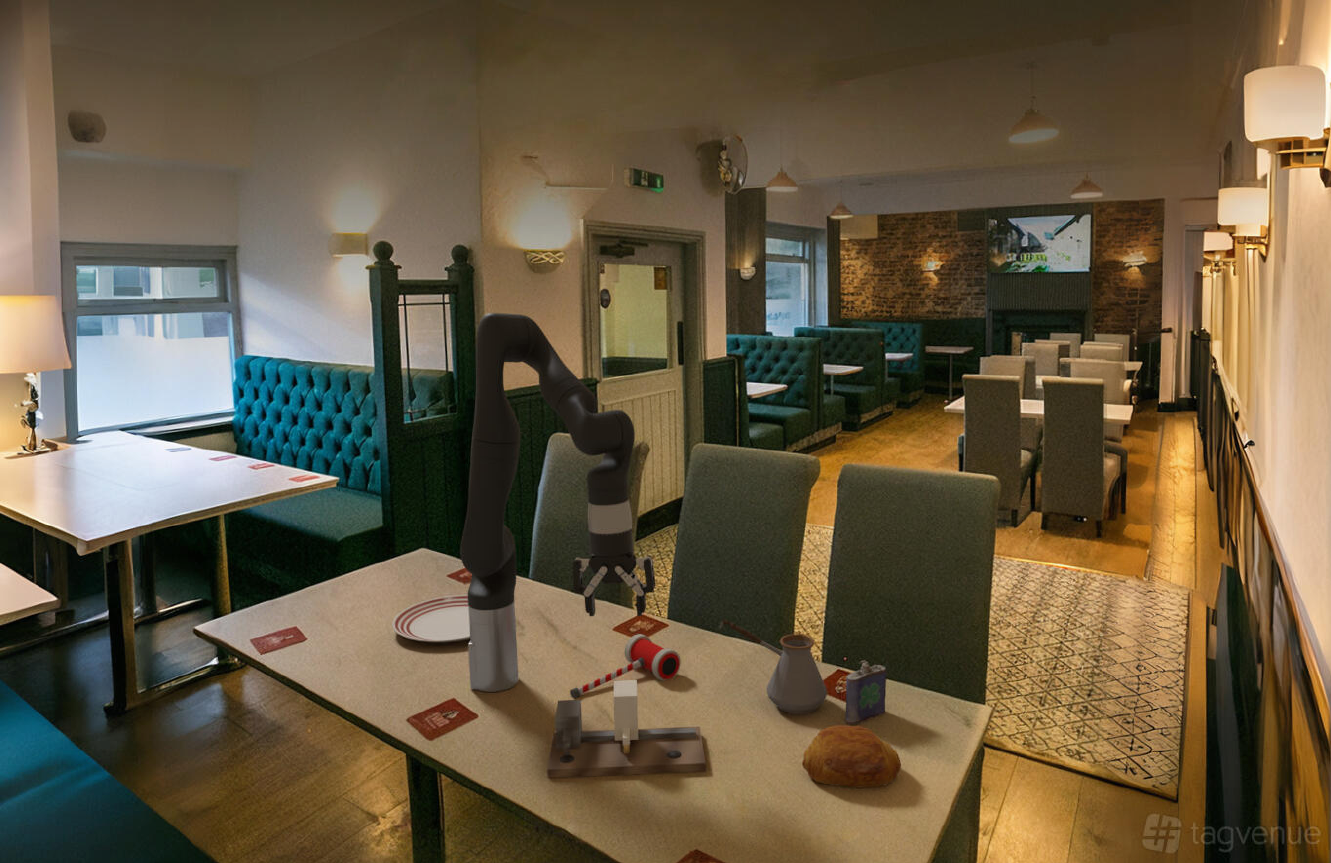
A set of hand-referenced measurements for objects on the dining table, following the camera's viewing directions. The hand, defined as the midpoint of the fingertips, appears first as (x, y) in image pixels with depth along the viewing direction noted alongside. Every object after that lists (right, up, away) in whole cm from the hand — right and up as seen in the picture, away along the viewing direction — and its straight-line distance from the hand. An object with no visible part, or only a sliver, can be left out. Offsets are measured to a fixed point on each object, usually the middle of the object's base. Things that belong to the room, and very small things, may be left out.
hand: (616, 614), depth 151 cm
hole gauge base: (+2, -23, -4) cm, 24 cm away
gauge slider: (+2, -21, -3) cm, 21 cm away
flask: (+46, -21, +7) cm, 51 cm away
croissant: (+39, -24, -10) cm, 47 cm away
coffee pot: (+29, -20, +15) cm, 38 cm away
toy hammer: (+1, -19, +25) cm, 32 cm away
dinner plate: (-42, -15, +54) cm, 71 cm away
